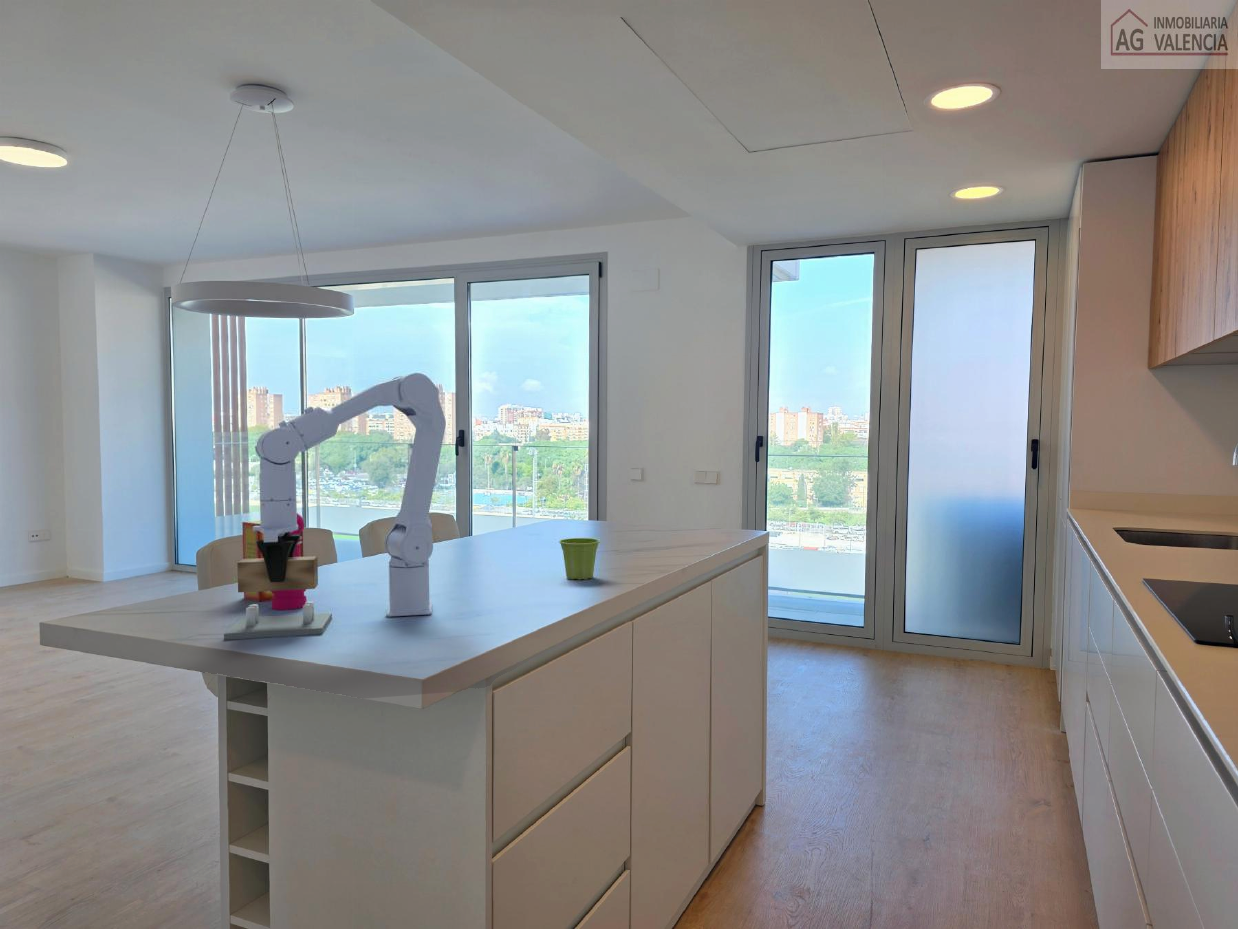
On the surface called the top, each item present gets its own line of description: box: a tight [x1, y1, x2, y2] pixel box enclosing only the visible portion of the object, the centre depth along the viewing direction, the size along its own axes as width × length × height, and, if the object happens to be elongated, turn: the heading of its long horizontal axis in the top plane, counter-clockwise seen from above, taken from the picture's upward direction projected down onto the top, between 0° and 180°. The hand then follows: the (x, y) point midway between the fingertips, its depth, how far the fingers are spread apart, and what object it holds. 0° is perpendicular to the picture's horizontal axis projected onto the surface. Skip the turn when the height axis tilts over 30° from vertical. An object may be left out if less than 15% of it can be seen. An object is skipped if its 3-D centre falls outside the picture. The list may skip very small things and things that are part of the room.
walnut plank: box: [236, 555, 319, 593], centre depth 135 cm, size 12×4×5 cm, turn 103°
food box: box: [241, 520, 305, 603], centre depth 164 cm, size 10×6×16 cm
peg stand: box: [223, 601, 333, 641], centre depth 136 cm, size 12×15×4 cm
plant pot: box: [558, 537, 601, 581], centre depth 183 cm, size 9×9×9 cm
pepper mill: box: [271, 512, 308, 611], centre depth 154 cm, size 7×7×20 cm
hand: (279, 579), depth 136 cm, fingers closed on walnut plank, 4 cm apart
